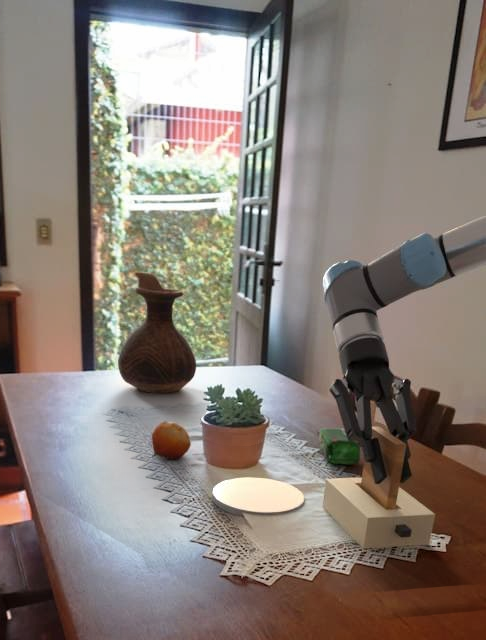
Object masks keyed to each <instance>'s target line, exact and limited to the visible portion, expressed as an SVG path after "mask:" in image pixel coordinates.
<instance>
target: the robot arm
mask: <svg viewBox="0 0 486 640" xmlns="http://www.w3.org/2000/svg"><path fill="white" fill-rule="evenodd" d="M485 265H486V215H484V216H481V217H478V218H477V219H474V220H472V221H470V222H467V223H465V224H463V225H460V226H458V227H456V228H453V229H451V230H449V231H446V232H443V233H442V234H439V235H436V236H433V235H432V234H430V233H427V232H424V233H421V234H419V235H417V236H416V237H413V238H410V239H407V240H405V242H404V243H403V244H401V245H399V246H397V247H395V248H394V249H392V250H390V251H388V252H387V253H385V254H384V255H382V256H380V257H378V258H376V259H375V260H373V261H371V262H369V263H367V264H364V265H363V264H362V263H361V262H359V261H357V260H353V259H348V260H346V261H344V262H341V261H340V262H336V263H335V264H333V265H332V266H331V267H329V268H328V270H327V271H326V272H325V273H324V275H323V278H322V287H323V293H324V303H325V305H326V309H327V313H328V316H329V320H330V325H331V328H332V332H333V333H332V334H333V337H334V342H335V346H336V350H337V353H338V359H339V360H338V361H339V365H340V370H341V373H342V375H343V377H342V379H341V378H336V379H335V380H334V381H333V383H332V384H331V386H330V387H329V392H330V393H331V395H332V397H333V398H334V400H335V403H336V405H337V409H338V413H339V415H340V419H341V421H342V425H343V429H345V432H346V436H347V439H348V440H349V441H357V445H358V446H359V447H360V448H361V451H362V454H363V459H364V461H366V462H370V465H371V469H372V473H373V477H374V482H375V484H380V483H381V482H382V481H383V480H384V479H385V478H387V473H386V469H385V465H384V461H383V456H382V452H381V448H380V444H379V440H378V438H373V439H372V438H371V437H372V427H373V424H372V423H373V422H372V405H371V401H372V402H374V404H375V407H376V408H378V409H379V411H380V413H381V415H382V416H381V417H382V418H383V420H384V423H385V425H386V427H387V430H388V433H390V434H391V435H393V436H394V437H396V438H397V439H399V440H401V441H402V442H404V443H405V444H406V450H405V456H404V462H403V467H402V473H401V479H400V484H404V483H405V482H406V481H408V480H409V479H410V478H411V477H413V474H412V470H411V467H410V462H409V459H410V458H411V455H412V454H411V450H410V446H409V443H408V441H409V440H410V439H411V438H412V437H413V436H414V435H415V434H416V433H417V431H418V429H417V424H416V419H415V418H416V417H415V413H414V408H413V403H412V398H411V394H410V393H411V392H410V391H411V385H412V382H411V380H410V379H409V378H405V379H403V380H401V379H398V378H396V377H395V375H394V373H393V372H392V370H391V369H390V358H389V355H388V350H387V347H386V343H385V341H384V335H383V332H382V327H381V324H380V321H379V317H378V311H379V310H381V309H383V308H386V307H387V306H389V305H391V304H393V303H395V302H397V301H399V300H402V299H403V298H405V297H407V296H410V295H411V294H413V293H416V292H418V291H422V290H426V289H429V288H431V287H434V286H436V285H438V284H440V283H443V282H445V281H447V280H450V279H453V278H454V277H457V276H460V275H463V274H465V273H467V272H470V271H473V270H475V269H478V268H480V267H483V266H485ZM392 388H393V389H392ZM391 389H392V390H393V392H392V391H391ZM349 391H350V392H351V394H353V395H354V404H355V407H356V411H355V407H354V404H353V401H352V398H351V395H350V392H349ZM393 394H394V395H395V402H394V400H393V398H394V397H393ZM395 403H396V404H395Z"/></svg>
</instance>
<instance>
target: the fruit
mask: <svg viewBox="0 0 486 640" xmlns="http://www.w3.org/2000/svg"><path fill="white" fill-rule="evenodd" d="M151 443H152V450H153V455H152V456H151V458H154V457H156V456H160V457H162V458H164V459H168V460H173V461H177V460H179V459H181V458H182V457H183V456H184V455H185V454H187V453H188V452H189V450H190V448H191V439H190V434H189V433H188V431H187V430H186V428H185V427H183V426H182V425H179V424H178V423H176V422H169V421H162V422H161V423H159V424H158V425H156V427H155V428H154V429H153V432H152V434H151Z"/></svg>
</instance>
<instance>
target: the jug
mask: <svg viewBox="0 0 486 640" xmlns="http://www.w3.org/2000/svg"><path fill="white" fill-rule="evenodd" d="M134 275H135V277H136V278H137V280H138V286H137V287H135V289H134V291H135V293H136V294H138V295H139V296H141V297H142V298H143V299H144V301H145V306H146V317H145V320H144V322H143V323H142V324H141V325H140V326H138V327H137V328H136V329H134V330H133V331H132V332H131V334H130V335H129V336H128V337H127V340H126V341H125V342H124V344H123V346H122V348H121V350H120V353H119V356H118V359H117V366H118V371H119V374H120V376H121V378H122V380H123V381H124V382H125V383H126V384H128V385H131V386H132V387H134V388H136V389H137V390H139V391H141V392H146V393H153V394H160V393H163V394H164V393H173V392H178V391H181V389H183V388H184V387H185V386H186V385H187V384H189V383H190V382H191V381H192V380H193V379H194V377H195V374H196V370H197V360H196V356H195V353H194V351H193V349H192V346H191V345H190V343H189V341H188V340H187V338H186V337H185V336H184V334H183V333H181V331H180V330H179V329H178V328H176V325H175V323H174V319H173V308H174V307H173V306H174V303H175V301H176V299H178V298H181V297H182V296H184V292H183V291H182V290H179V289H175V288H163V286H162V285H161V284H160V282H159V280H158V278H157V276H156V275H155V274H154V273H152V272H143V271H138V272H135V273H134Z"/></svg>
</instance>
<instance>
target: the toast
mask: <svg viewBox="0 0 486 640" xmlns="http://www.w3.org/2000/svg"><path fill="white" fill-rule="evenodd" d="M371 438H372V439H373V438H378V440H379V444H380V448H381V452H382V456H383V461H384V465H385V469H386V473H387V478H385V479H384V480H383V481H382V482H381V483H380V484H375V482H374V477H373V473H372V469H371V465H370V462H366V461H365V460H364V461H363V467H362V475H361V477H362V481H361V489H362V490H364V491H365V492H366V493H367V494H368V495H369V496H371V497H372V498H373V499H374V500H375V501H376V502H378V503H379V504H380V505H381V506H382V507H383V508H385V509H386V510H394V509H395V508H396V502H397V496H398V490H399V487H400V484H401V483H400V479H401V473H402V467H403V462H404V456H405V450H406V444H405V443H404V442H402V441H401V440H399V439H397V438H396V437H394V436H393V435H391V434H390V432H389V431H387V430H385V429H383V428H382V427H380V426H372V437H371Z"/></svg>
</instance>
